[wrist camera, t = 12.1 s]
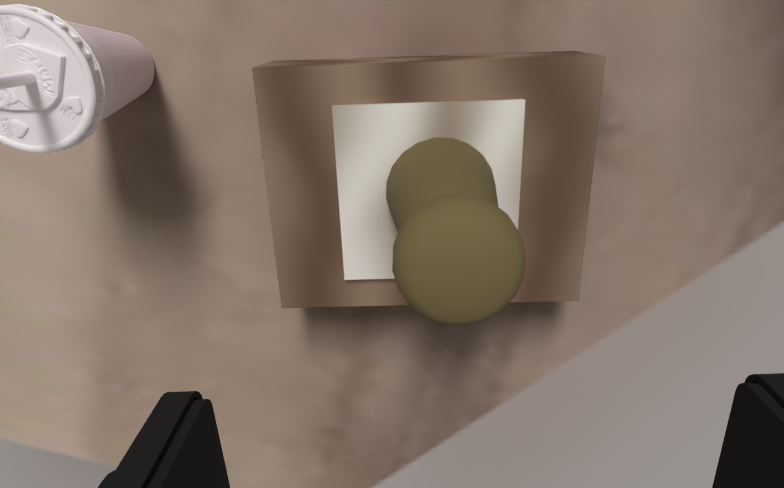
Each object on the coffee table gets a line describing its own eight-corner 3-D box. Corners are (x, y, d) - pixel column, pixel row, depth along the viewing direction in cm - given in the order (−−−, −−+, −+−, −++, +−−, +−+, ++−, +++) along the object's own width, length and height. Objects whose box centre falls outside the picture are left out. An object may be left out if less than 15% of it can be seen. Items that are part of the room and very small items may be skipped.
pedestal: (575, 51, 32) (608, 56, 27) (556, 266, 38) (580, 304, 33) (272, 61, 33) (250, 68, 28) (295, 273, 38) (280, 311, 33)
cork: (498, 236, 31) (548, 341, 21) (393, 248, 31) (391, 358, 21) (492, 129, 29) (544, 189, 19) (378, 144, 29) (368, 211, 19)
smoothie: (198, 89, 33) (72, 134, 20) (114, 138, 34) (-55, 208, 22) (133, -14, 31) (-54, -38, 18) (46, 41, 32) (-188, 56, 19)
